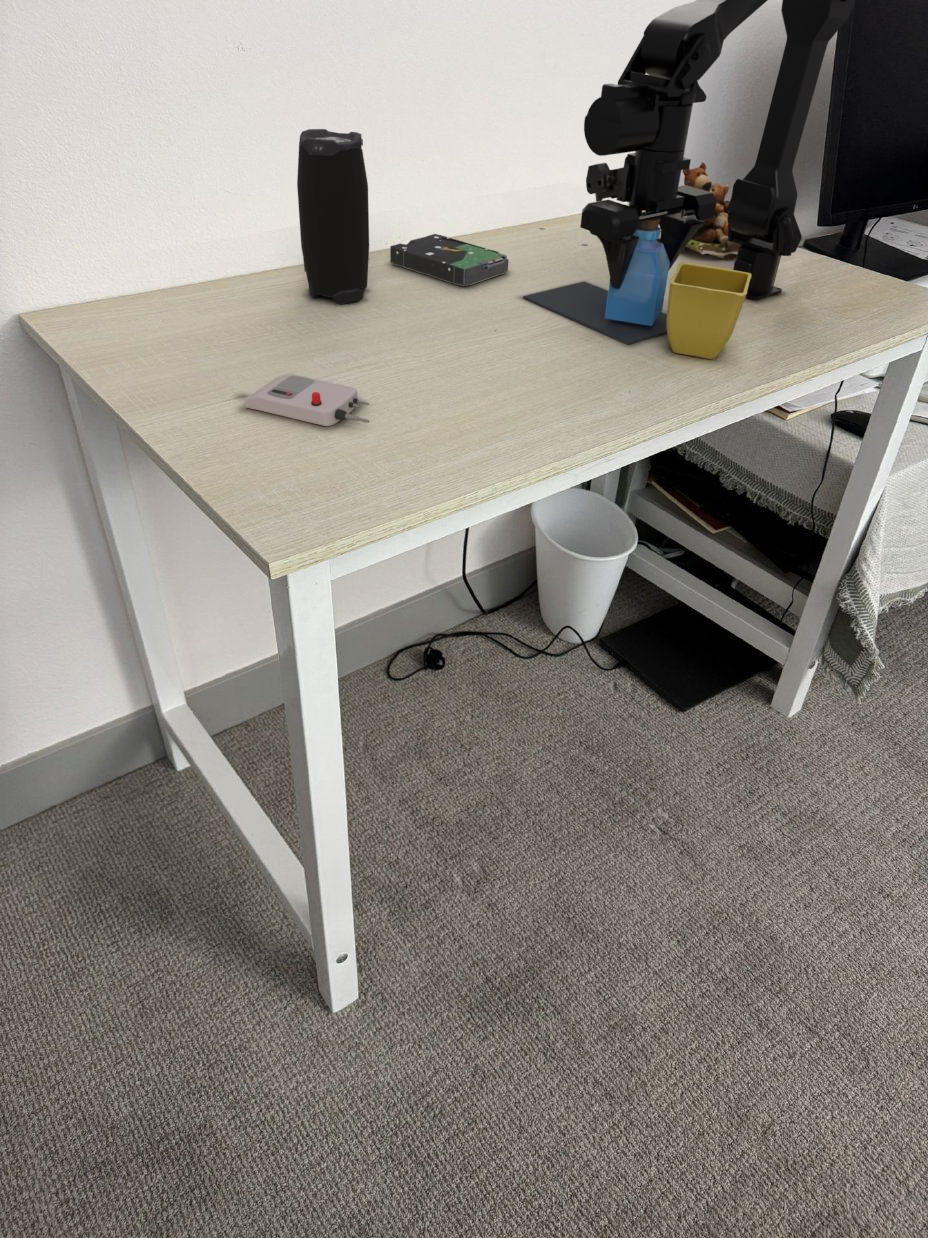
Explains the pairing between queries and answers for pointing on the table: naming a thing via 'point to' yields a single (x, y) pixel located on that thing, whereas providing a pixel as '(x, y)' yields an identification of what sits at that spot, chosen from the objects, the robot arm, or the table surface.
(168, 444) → the table surface
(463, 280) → the disk drive
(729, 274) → the flower pot
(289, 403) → the grey electronic control box
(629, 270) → the perfume bottle
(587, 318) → the desk mat
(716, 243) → the bear figurine
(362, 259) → the portable speaker
